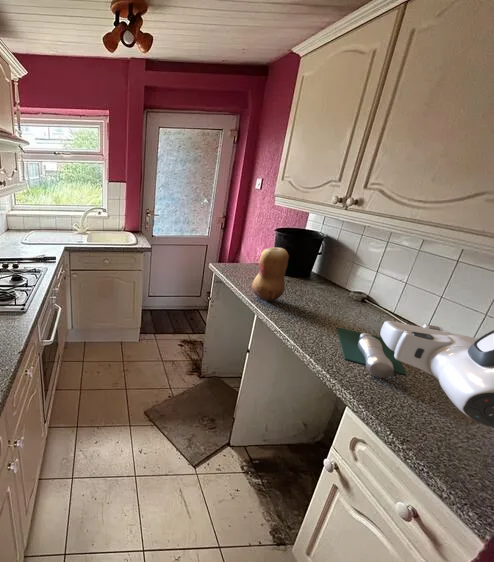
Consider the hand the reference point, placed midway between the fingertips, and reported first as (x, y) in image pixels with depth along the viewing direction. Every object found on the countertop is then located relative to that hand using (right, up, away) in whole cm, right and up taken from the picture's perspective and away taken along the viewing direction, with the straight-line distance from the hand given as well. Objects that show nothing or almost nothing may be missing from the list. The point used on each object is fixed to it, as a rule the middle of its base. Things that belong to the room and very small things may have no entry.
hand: (430, 328), depth 72 cm
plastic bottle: (+6, -16, +20) cm, 26 cm away
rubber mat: (+15, -13, +37) cm, 42 cm away
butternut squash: (-3, +2, +75) cm, 75 cm away
